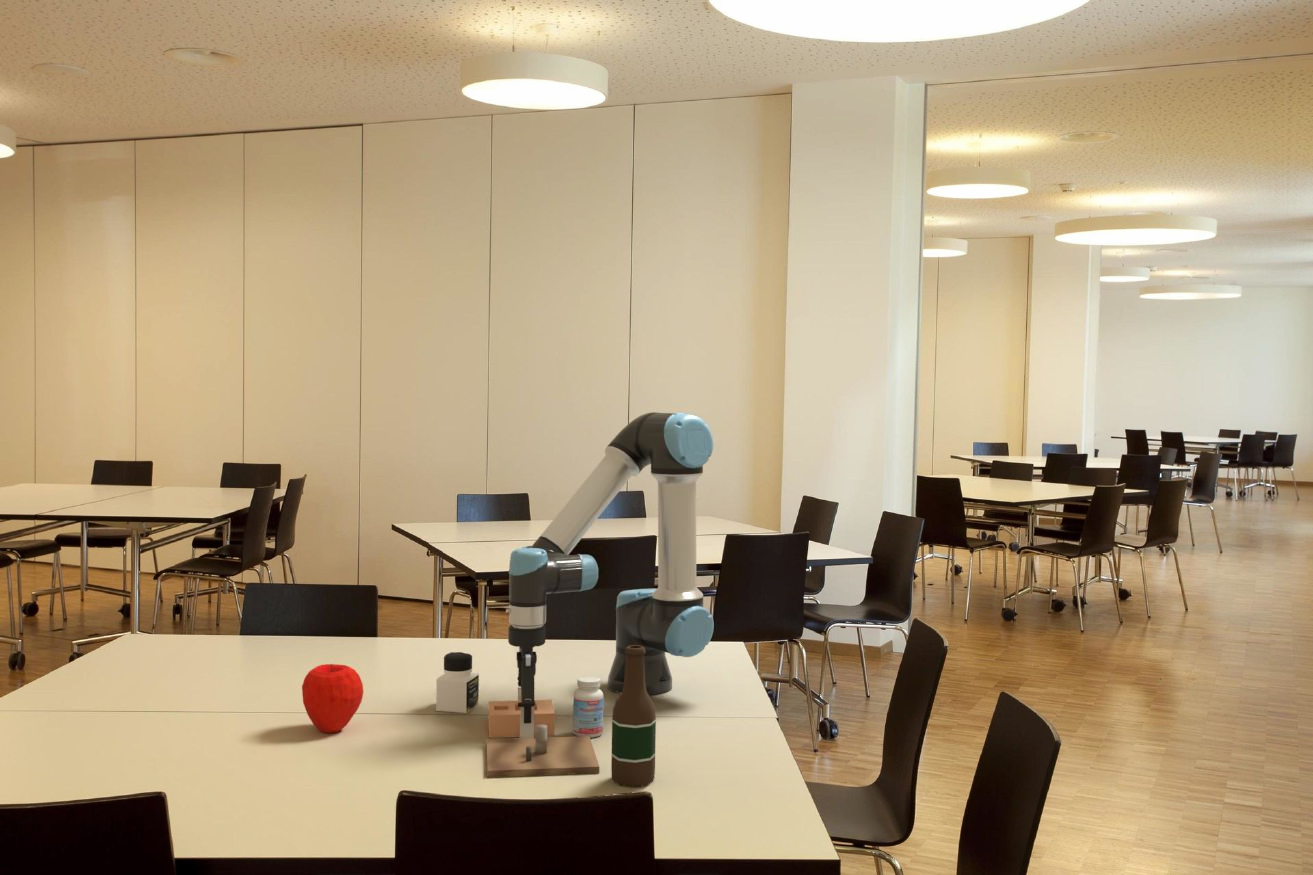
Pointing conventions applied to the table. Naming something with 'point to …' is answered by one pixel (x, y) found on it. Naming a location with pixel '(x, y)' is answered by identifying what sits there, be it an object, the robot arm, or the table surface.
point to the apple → (332, 696)
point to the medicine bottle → (457, 684)
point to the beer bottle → (633, 726)
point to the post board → (540, 755)
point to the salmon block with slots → (518, 718)
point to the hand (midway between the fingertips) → (525, 728)
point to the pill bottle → (588, 708)
